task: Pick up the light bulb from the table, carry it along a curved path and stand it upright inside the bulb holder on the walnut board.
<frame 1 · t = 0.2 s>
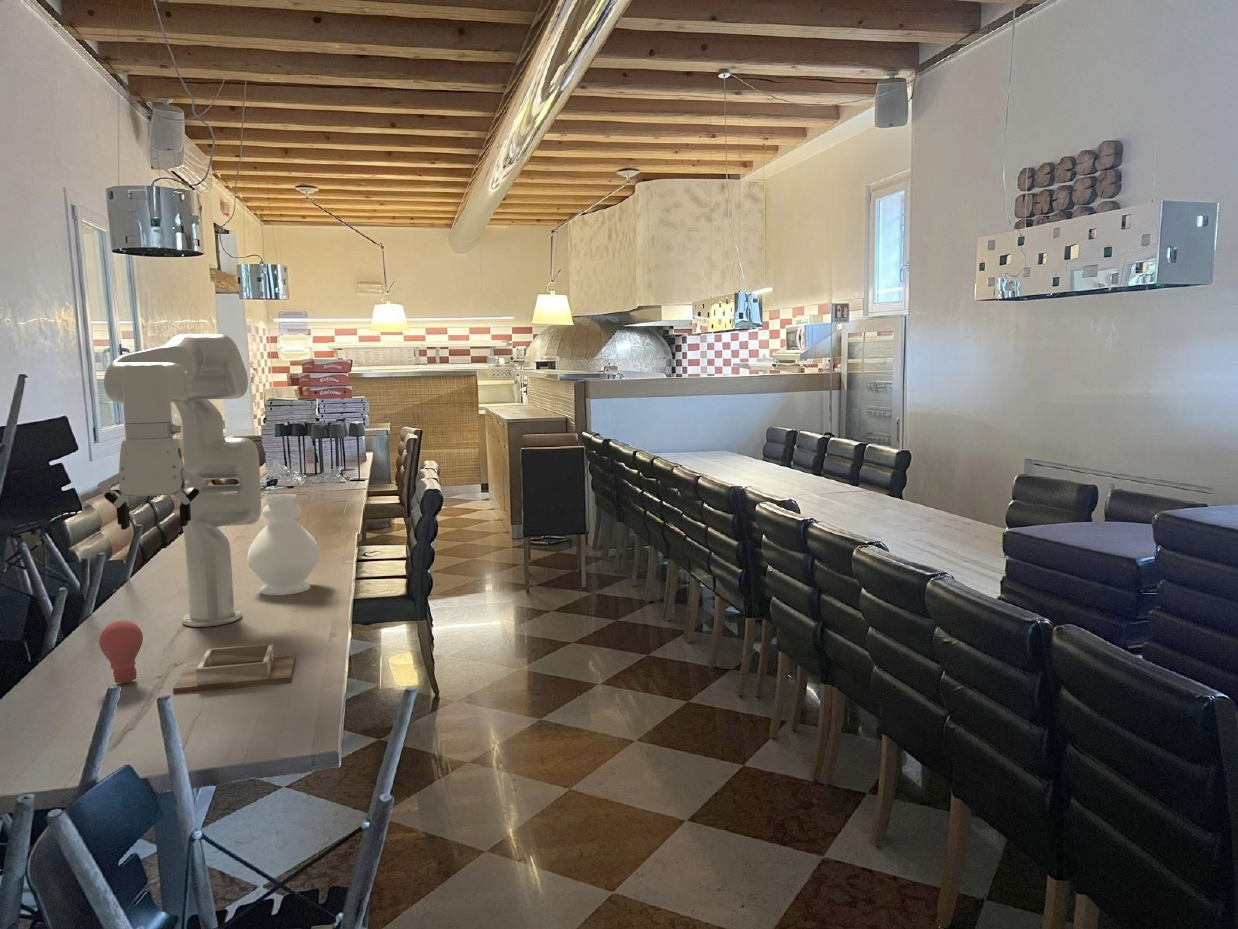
hand: (155, 526, 160), 30 cm above the table, tool pointing down, fingers open, 9 cm apart
bulb holder: (237, 676, 169), on the table
light bulb: (124, 684, 166), on the table
decorative vase: (285, 589, 234), on the table
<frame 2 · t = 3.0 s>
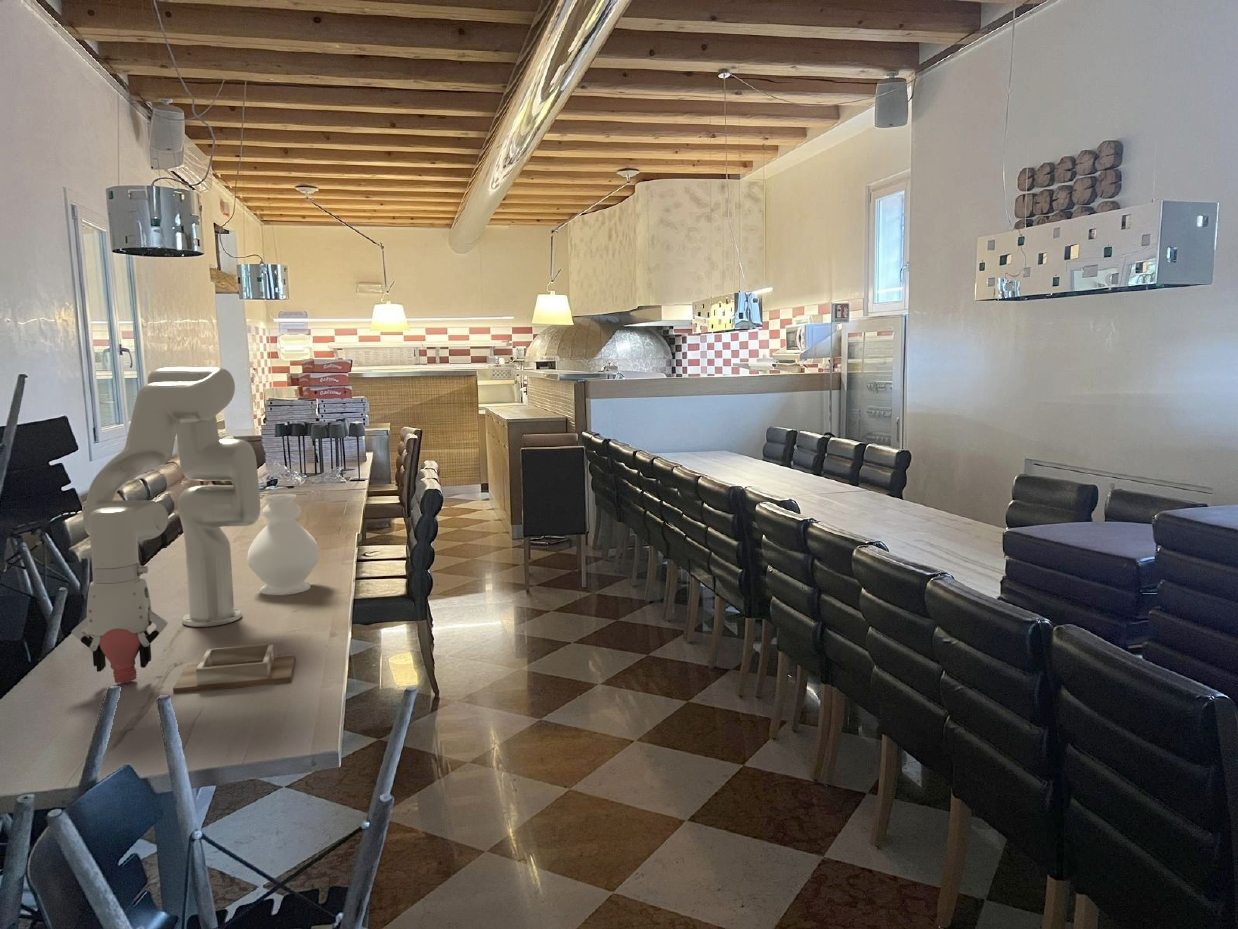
hand: (123, 666, 165), 3 cm above the table, tool pointing down, fingers closed on light bulb, 6 cm apart
light bulb: (124, 684, 166), on the table, touching gripper
everything else where it was.
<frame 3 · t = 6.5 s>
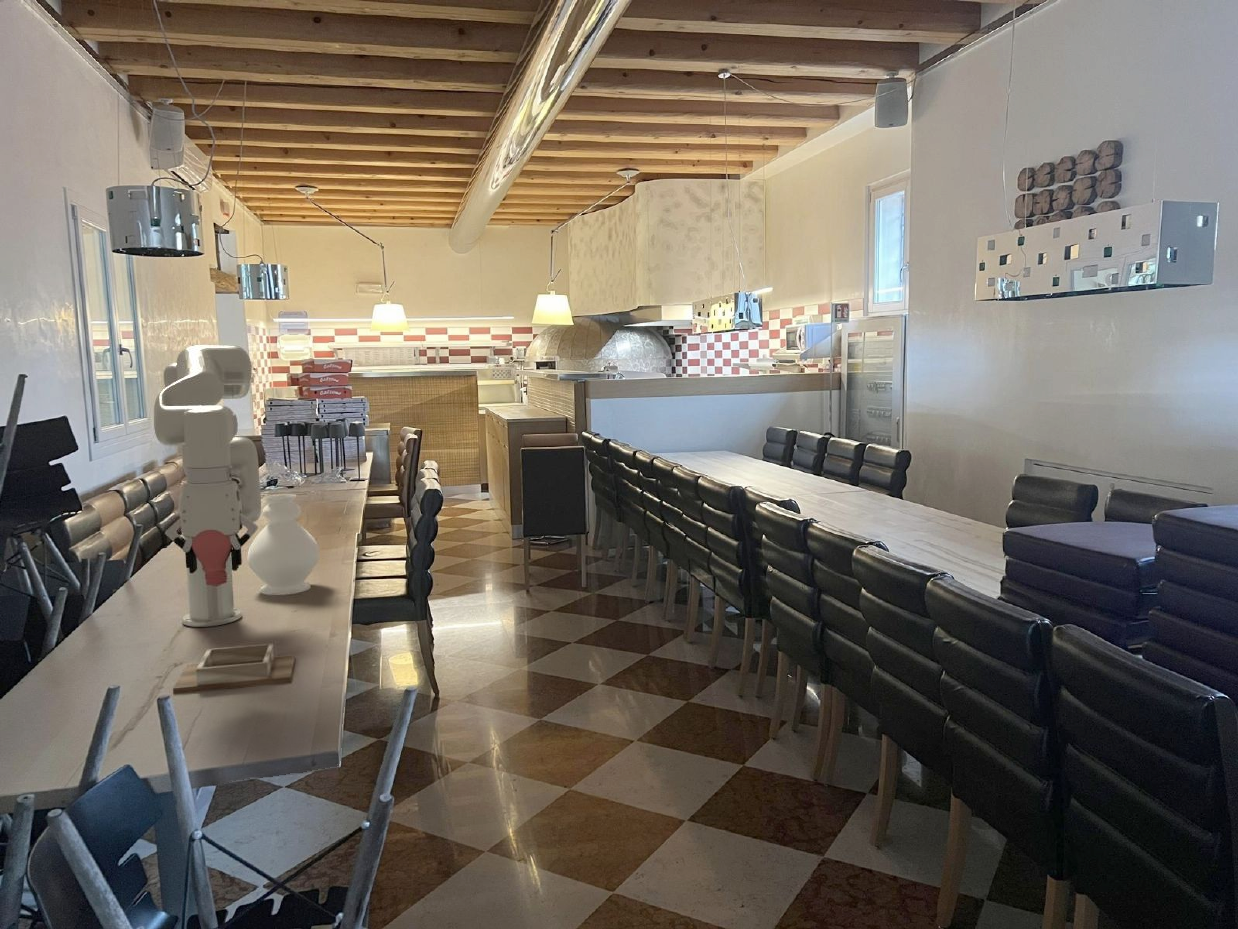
hand: (214, 569, 165), 21 cm above the table, tool pointing down, fingers closed on light bulb, 6 cm apart
light bulb: (215, 587, 166), point 18 cm above the table, touching gripper
everything else where it was.
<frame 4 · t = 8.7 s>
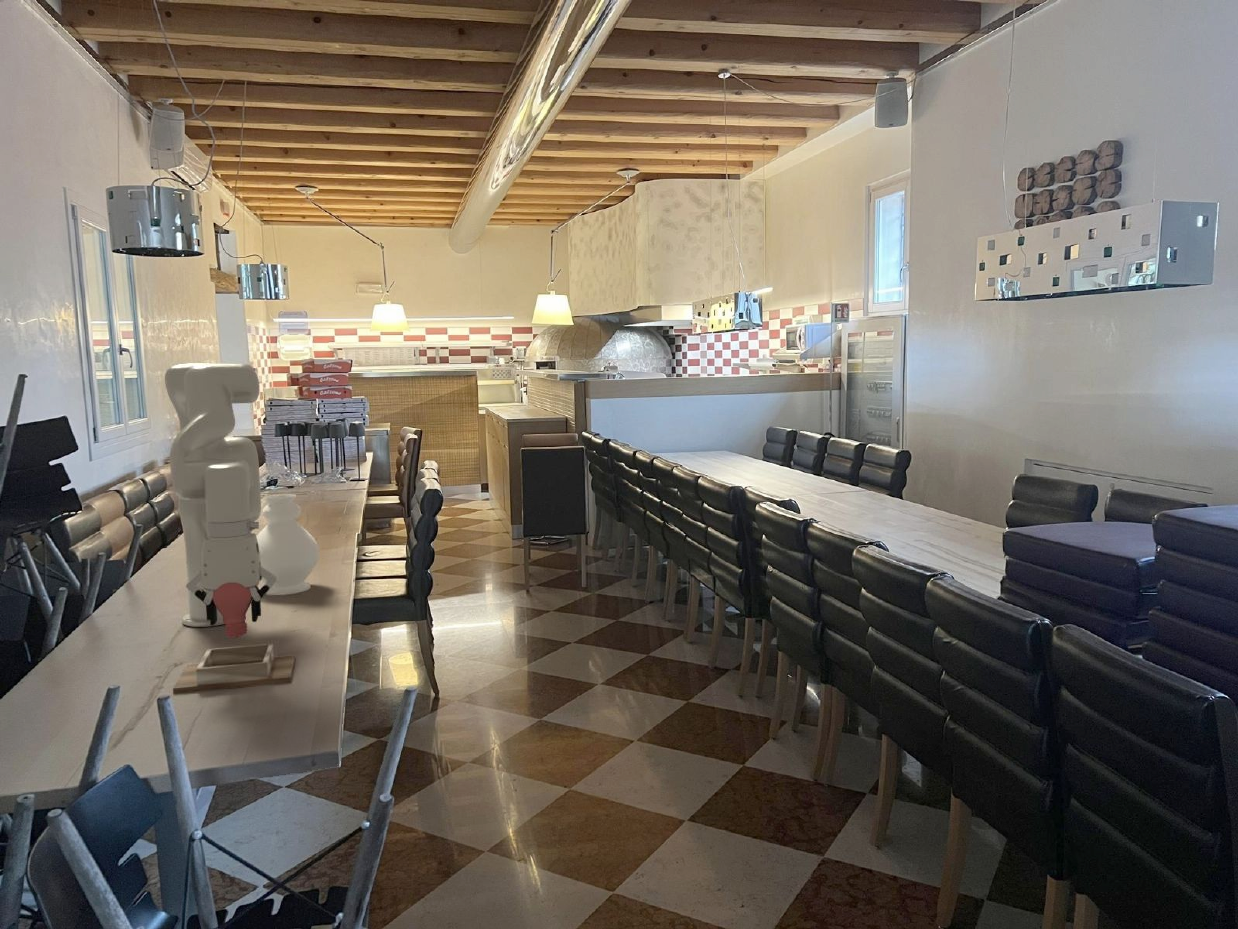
hand: (234, 621, 168), 11 cm above the table, tool pointing down, fingers closed on light bulb, 6 cm apart
light bulb: (235, 638, 168), point 7 cm above the table, touching gripper
everything else where it was.
when the fingers open (6 cm above the table, at t = 10.3 s): light bulb drops 1 cm, resting on bulb holder.
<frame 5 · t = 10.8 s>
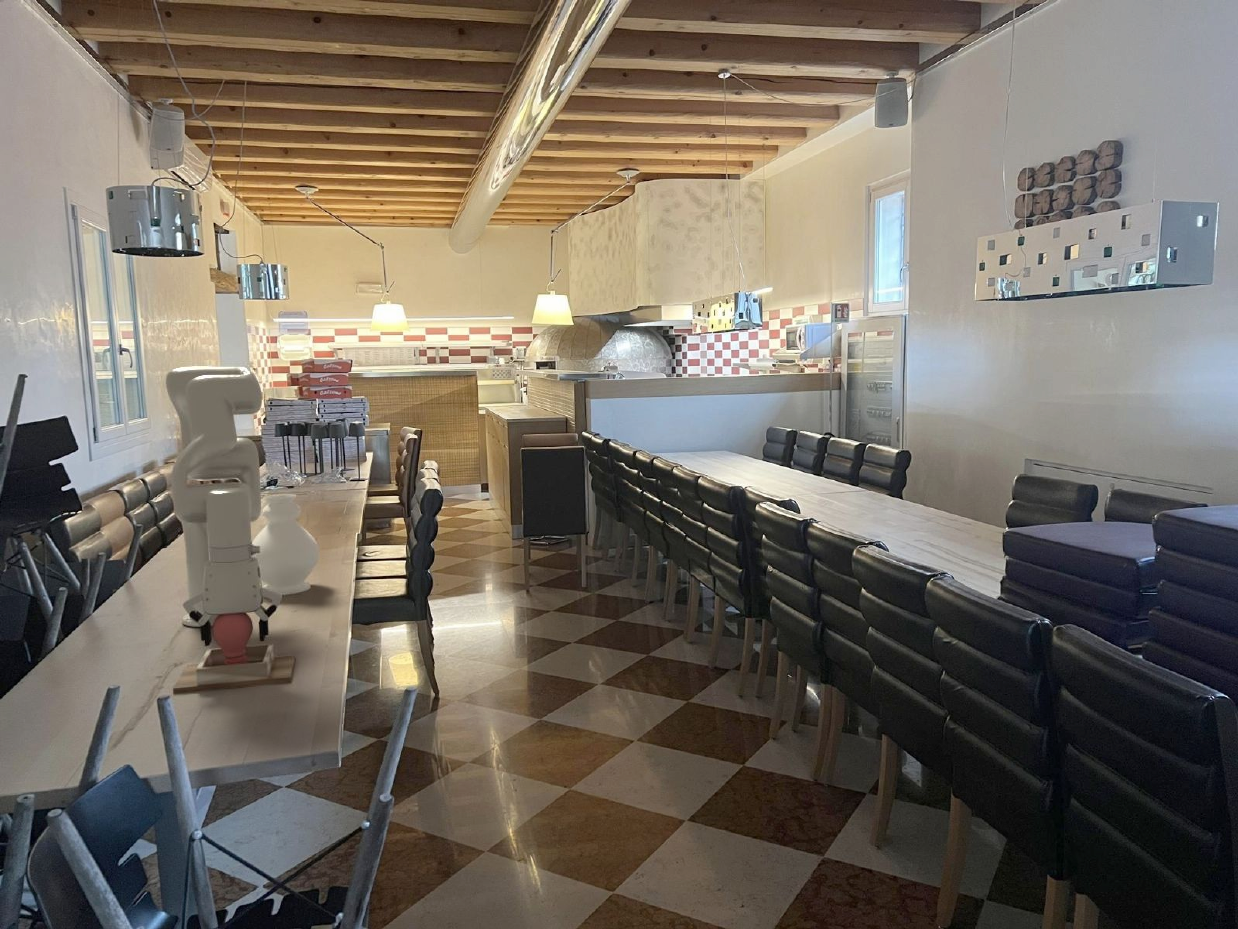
hand: (235, 641, 169), 7 cm above the table, tool pointing down, fingers open, 9 cm apart
light bulb: (235, 671, 169), point 1 cm above the table, touching bulb holder
everything else where it was.
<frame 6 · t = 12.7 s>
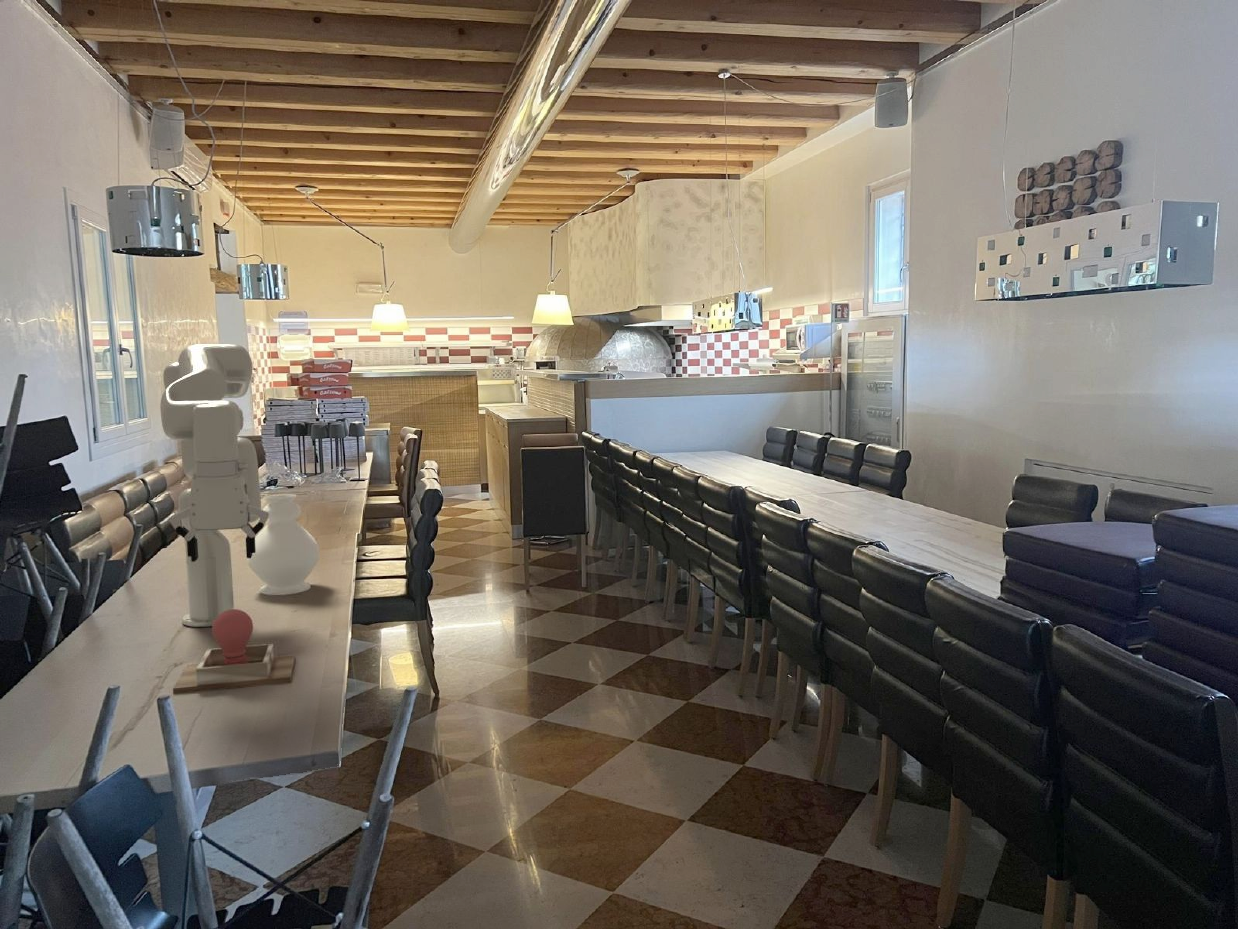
hand: (222, 558, 168), 23 cm above the table, tool pointing down, fingers open, 9 cm apart
nothing on the table moved.
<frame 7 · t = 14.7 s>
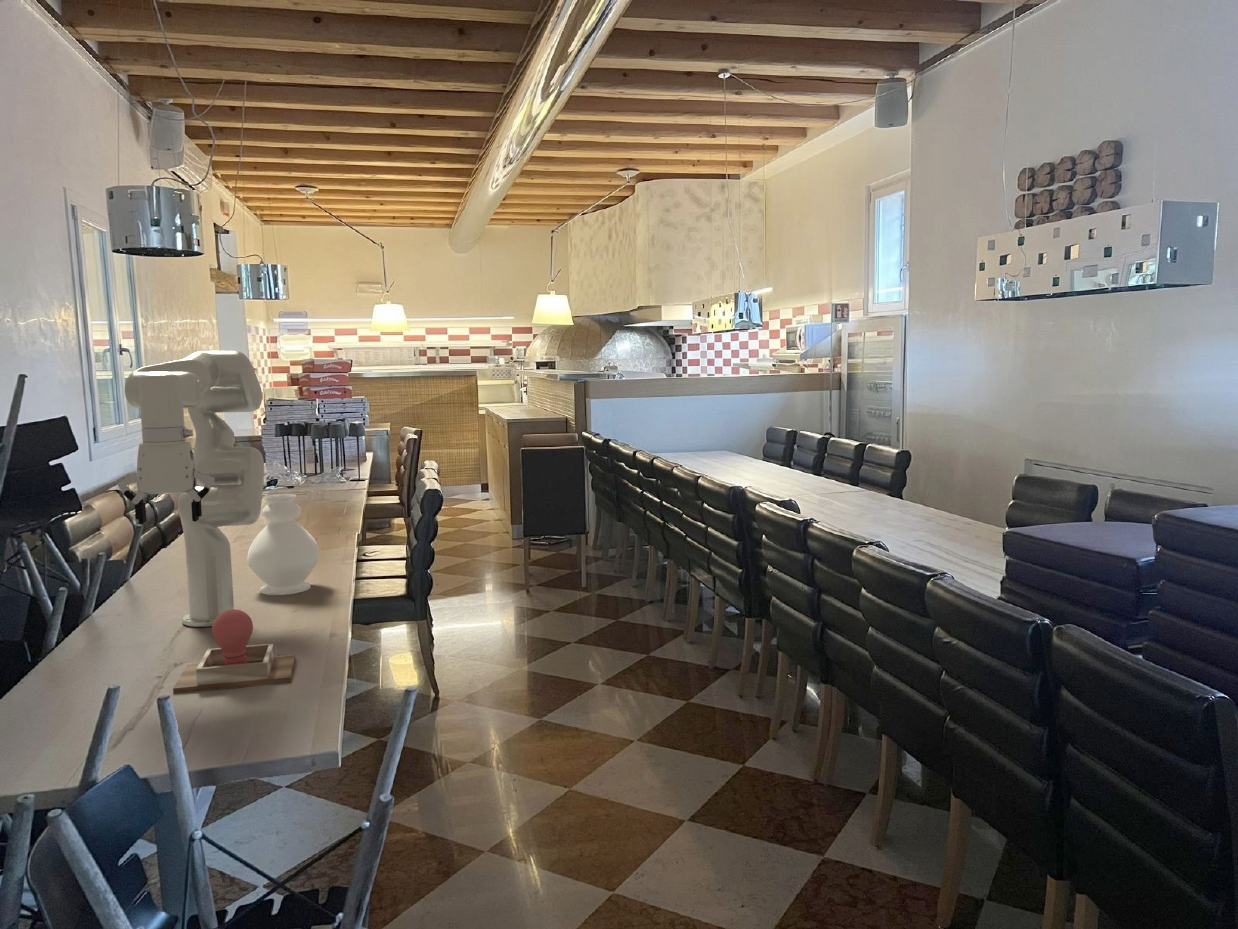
hand: (169, 521, 176), 28 cm above the table, tool pointing down, fingers open, 9 cm apart
nothing on the table moved.
at the end: light bulb 0.4 cm off-centre on the bulb holder, point 0.8 cm above the bulb holder's base; light bulb tilted 0°; the gripper is holding nothing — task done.
